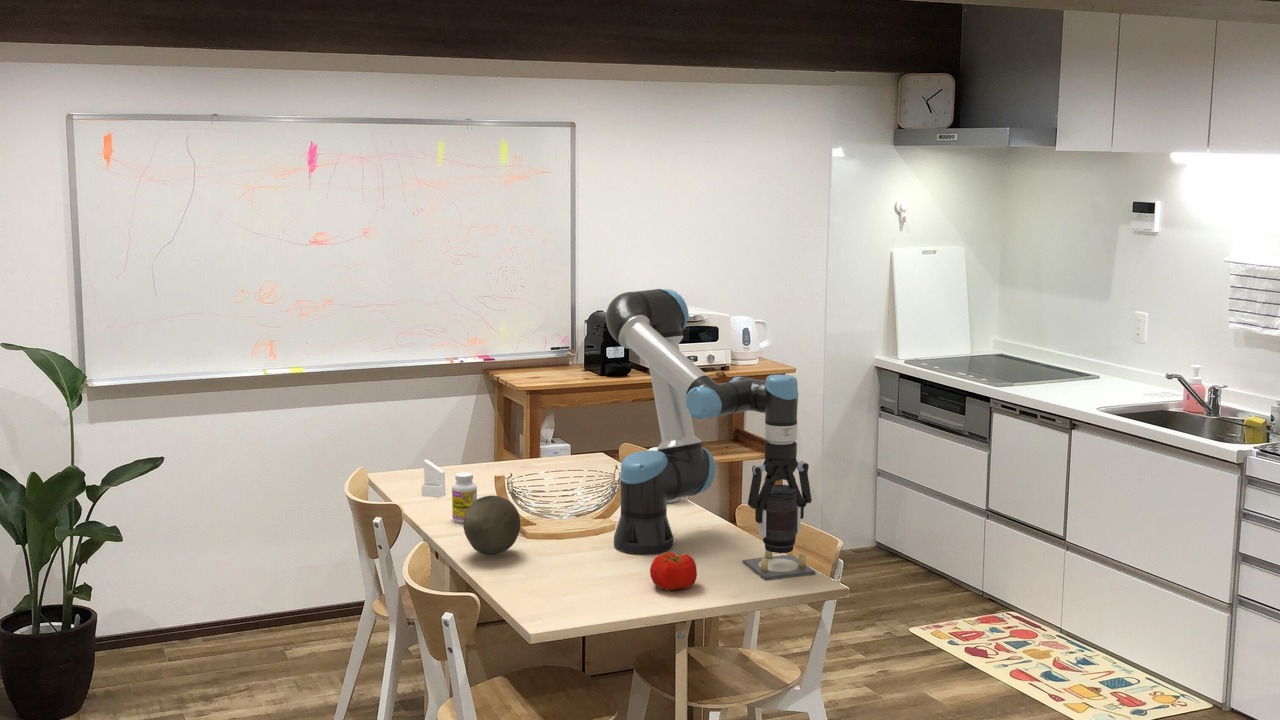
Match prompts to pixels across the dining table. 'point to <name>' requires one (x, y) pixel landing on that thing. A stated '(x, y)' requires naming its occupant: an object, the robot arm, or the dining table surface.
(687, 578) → the tomato
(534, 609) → the dining table surface
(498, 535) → the matte black sphere
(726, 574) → the dining table surface
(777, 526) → the camera lens
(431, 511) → the dining table surface
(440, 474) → the white wedge bracket
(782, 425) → the robot arm
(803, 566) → the mount
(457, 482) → the supplement bottle
